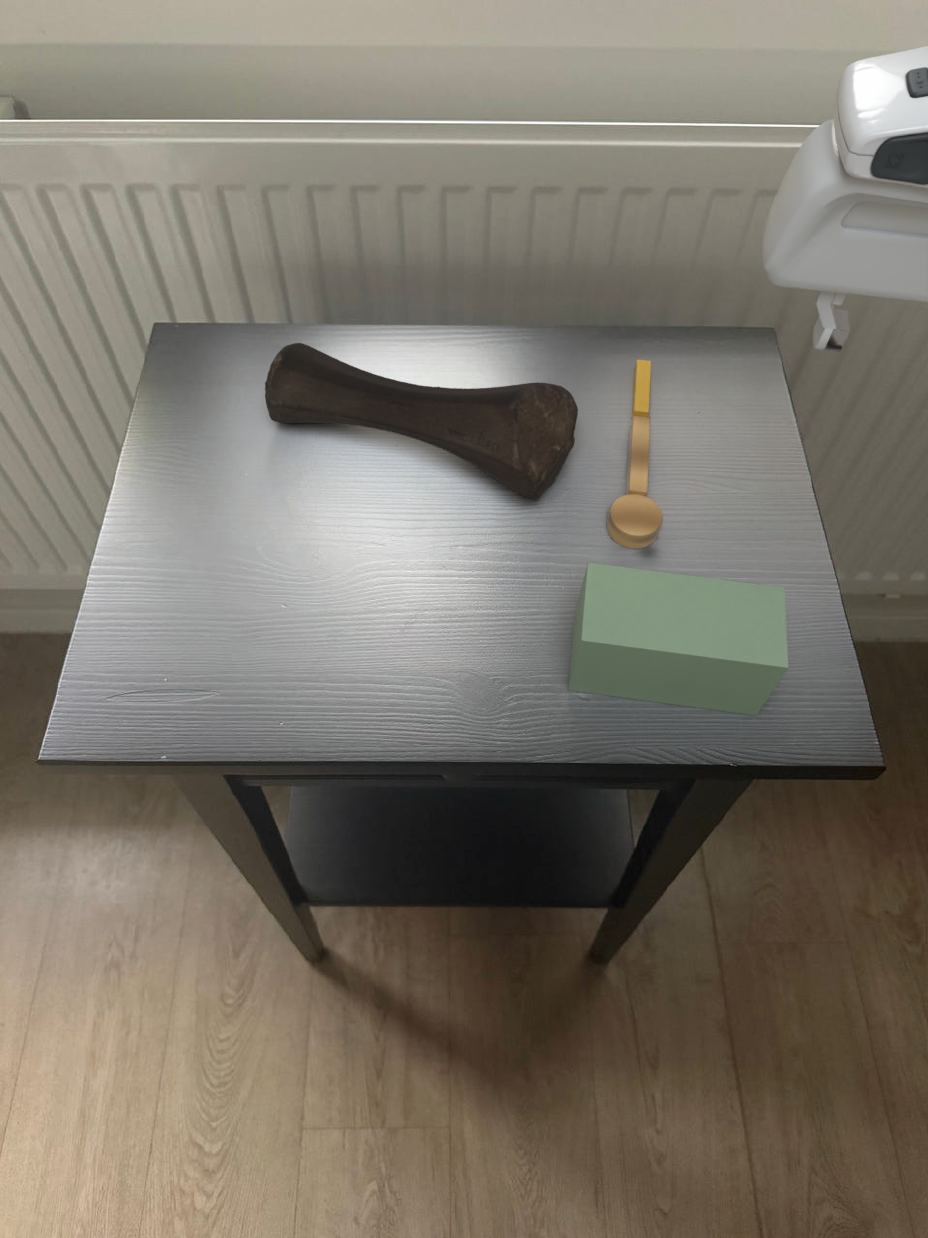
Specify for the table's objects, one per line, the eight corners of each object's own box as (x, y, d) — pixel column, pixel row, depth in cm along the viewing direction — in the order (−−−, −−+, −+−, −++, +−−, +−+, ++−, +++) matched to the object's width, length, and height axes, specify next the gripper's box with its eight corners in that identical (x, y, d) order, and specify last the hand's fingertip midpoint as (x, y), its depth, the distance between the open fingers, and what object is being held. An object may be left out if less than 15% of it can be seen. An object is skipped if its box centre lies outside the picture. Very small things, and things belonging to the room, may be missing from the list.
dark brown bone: (574, 480, 89) (303, 436, 95) (588, 369, 84) (301, 330, 90) (549, 522, 80) (251, 470, 86) (563, 400, 75) (245, 354, 81)
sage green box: (754, 640, 78) (784, 587, 71) (756, 716, 74) (788, 667, 68) (574, 616, 79) (587, 562, 72) (567, 690, 75) (581, 640, 68)
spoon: (613, 431, 90) (617, 413, 88) (661, 437, 90) (666, 419, 88) (605, 545, 83) (609, 529, 81) (657, 552, 83) (663, 535, 81)
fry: (648, 371, 94) (651, 360, 93) (646, 422, 91) (648, 412, 89) (634, 369, 94) (637, 358, 93) (631, 420, 91) (634, 410, 89)
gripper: (1252, 106, 44) (1078, 336, 56) (811, 61, 45) (732, 296, 57) (1296, 187, 41) (1102, 413, 53) (819, 137, 42) (734, 370, 53)
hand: (907, 352), depth 55 cm, fingers open, 8 cm apart
